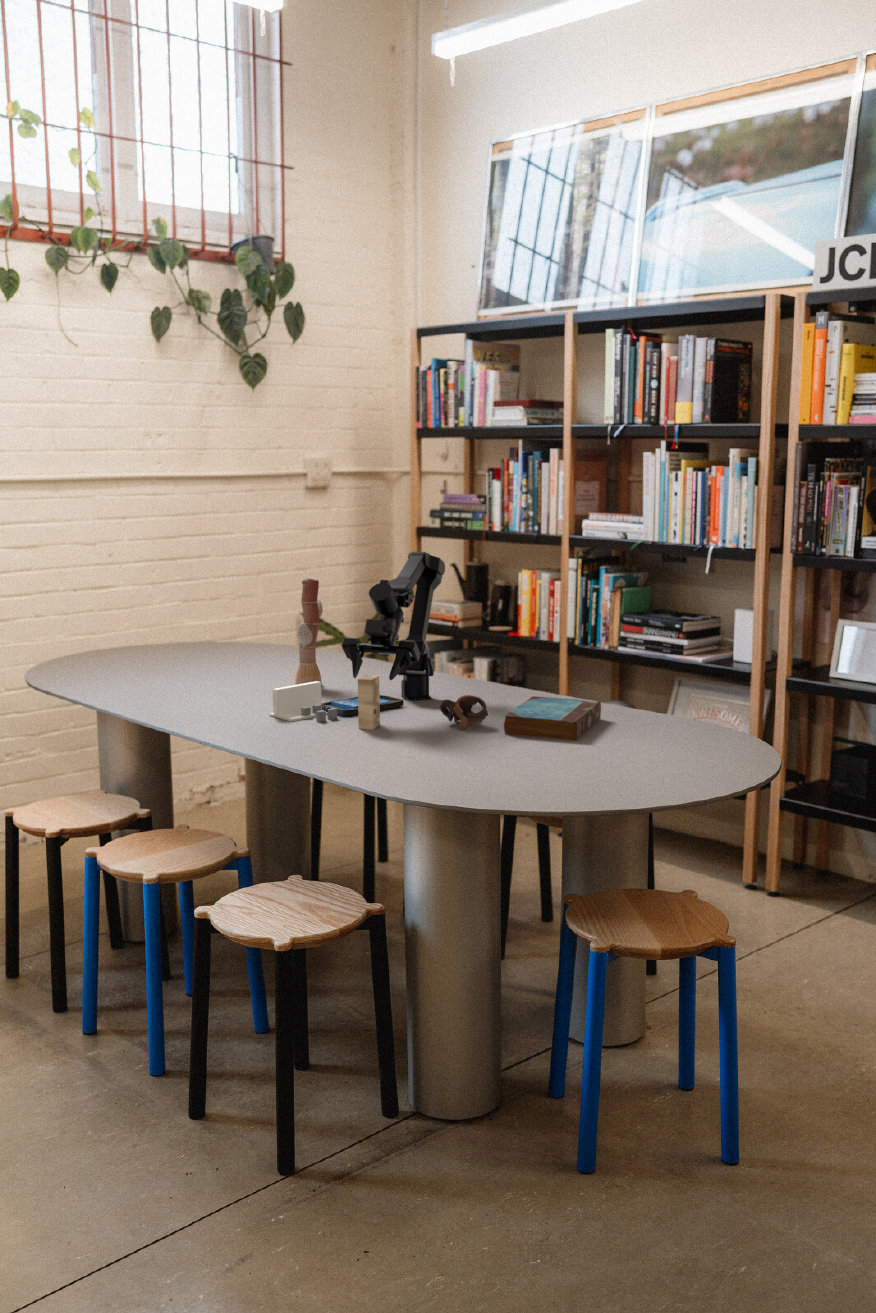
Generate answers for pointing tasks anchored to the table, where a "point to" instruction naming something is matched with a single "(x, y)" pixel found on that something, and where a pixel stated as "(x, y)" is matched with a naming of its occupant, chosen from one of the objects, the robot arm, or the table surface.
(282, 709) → the cream board with pegs
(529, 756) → the table surface
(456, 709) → the brown looped piece
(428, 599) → the robot arm
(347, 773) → the table surface
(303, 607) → the reddish-brown tall column
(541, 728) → the book
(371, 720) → the wooden building block
